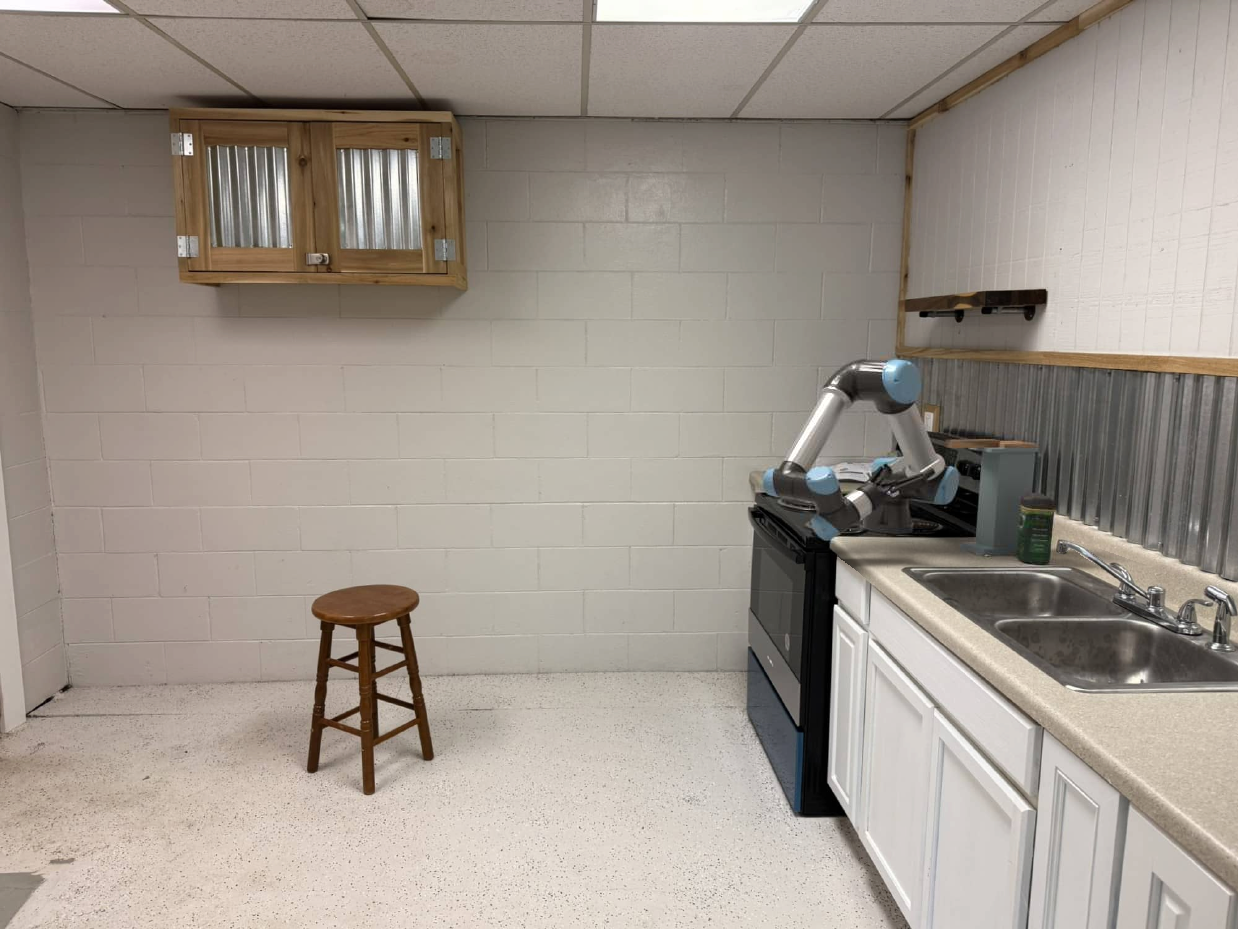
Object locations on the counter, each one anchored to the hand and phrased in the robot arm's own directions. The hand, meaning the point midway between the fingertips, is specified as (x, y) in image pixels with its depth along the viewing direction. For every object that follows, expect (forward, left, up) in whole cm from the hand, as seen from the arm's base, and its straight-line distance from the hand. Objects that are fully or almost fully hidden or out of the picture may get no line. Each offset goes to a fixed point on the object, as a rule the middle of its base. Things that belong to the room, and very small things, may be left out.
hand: (925, 460), depth 233 cm
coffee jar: (+12, +27, -27) cm, 40 cm away
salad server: (0, +20, +4) cm, 21 cm away
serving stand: (0, +25, -26) cm, 37 cm away
